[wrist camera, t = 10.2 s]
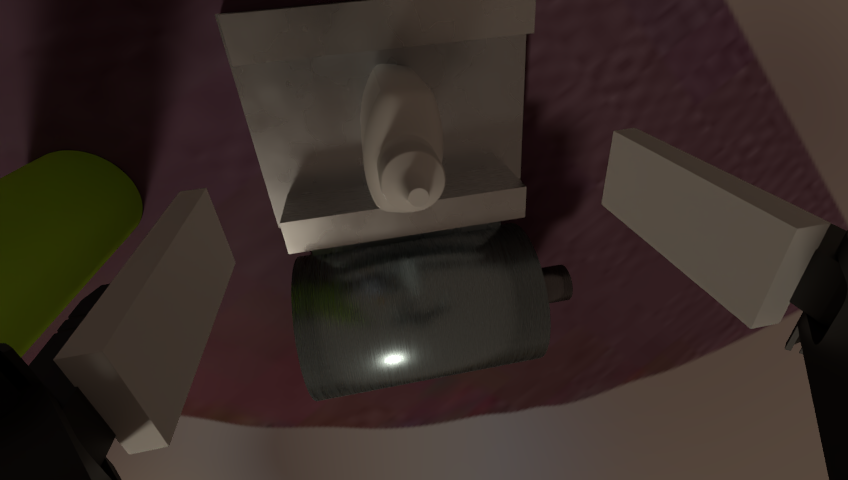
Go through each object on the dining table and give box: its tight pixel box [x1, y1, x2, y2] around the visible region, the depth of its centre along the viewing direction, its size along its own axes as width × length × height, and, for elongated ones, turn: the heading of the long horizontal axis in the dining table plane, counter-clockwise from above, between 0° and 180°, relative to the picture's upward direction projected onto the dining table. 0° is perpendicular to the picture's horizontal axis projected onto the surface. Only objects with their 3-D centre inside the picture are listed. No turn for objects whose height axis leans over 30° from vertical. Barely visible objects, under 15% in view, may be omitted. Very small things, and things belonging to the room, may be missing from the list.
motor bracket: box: [215, 0, 573, 401], centre depth 24 cm, size 22×18×9 cm
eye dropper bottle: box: [360, 64, 446, 213], centre depth 19 cm, size 4×6×12 cm
